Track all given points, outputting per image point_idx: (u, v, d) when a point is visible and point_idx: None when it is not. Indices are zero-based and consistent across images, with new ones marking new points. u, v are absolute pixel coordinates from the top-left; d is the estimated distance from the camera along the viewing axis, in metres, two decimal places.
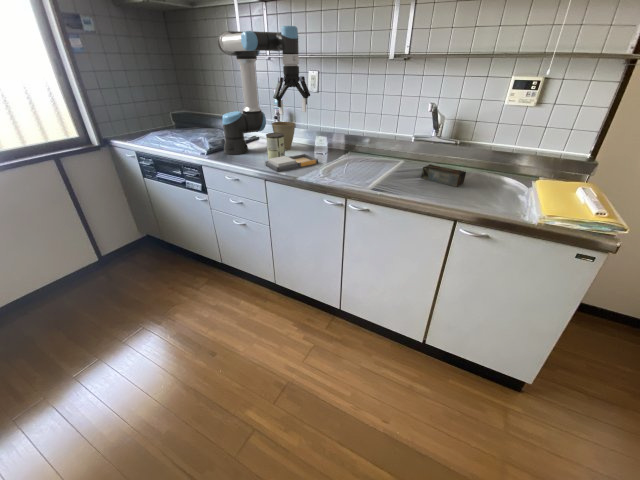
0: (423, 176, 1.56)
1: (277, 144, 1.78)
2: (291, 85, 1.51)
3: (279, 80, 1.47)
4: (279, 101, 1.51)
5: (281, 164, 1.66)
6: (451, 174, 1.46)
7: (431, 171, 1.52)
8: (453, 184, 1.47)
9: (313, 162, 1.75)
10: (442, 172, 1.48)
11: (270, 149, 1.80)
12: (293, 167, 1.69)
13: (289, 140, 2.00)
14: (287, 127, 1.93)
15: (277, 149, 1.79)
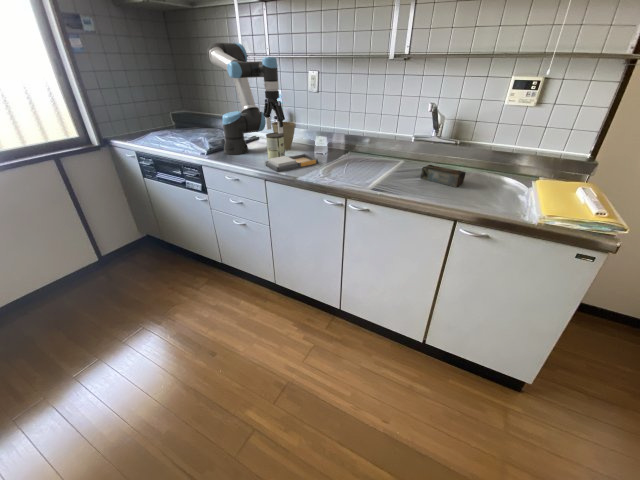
0: (422, 176, 1.55)
1: (277, 144, 1.78)
2: (270, 107, 1.72)
3: None
4: (266, 118, 1.80)
5: (281, 164, 1.66)
6: (451, 174, 1.45)
7: (430, 171, 1.52)
8: (453, 184, 1.46)
9: (313, 162, 1.75)
10: (442, 172, 1.48)
11: (270, 149, 1.80)
12: (293, 167, 1.69)
13: (289, 140, 2.00)
14: (287, 127, 1.93)
15: (277, 149, 1.79)
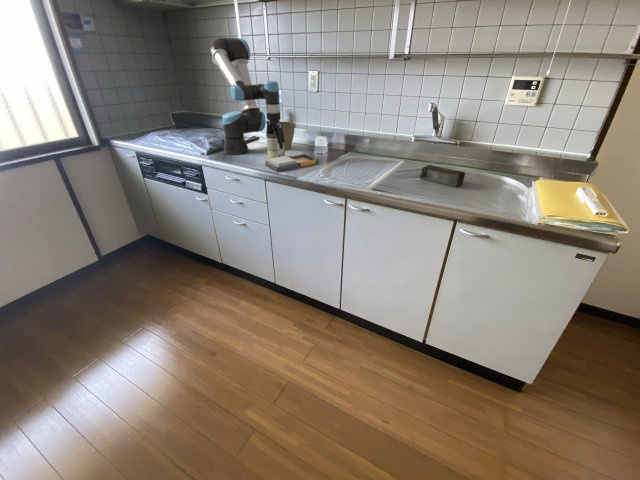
0: (422, 177, 1.55)
1: (277, 144, 1.78)
2: (272, 128, 1.78)
3: None
4: None
5: (281, 164, 1.66)
6: (450, 175, 1.45)
7: (430, 171, 1.51)
8: (452, 185, 1.46)
9: (313, 162, 1.75)
10: (441, 173, 1.48)
11: (270, 149, 1.80)
12: (293, 167, 1.69)
13: (289, 140, 2.00)
14: (287, 127, 1.93)
15: (277, 149, 1.79)
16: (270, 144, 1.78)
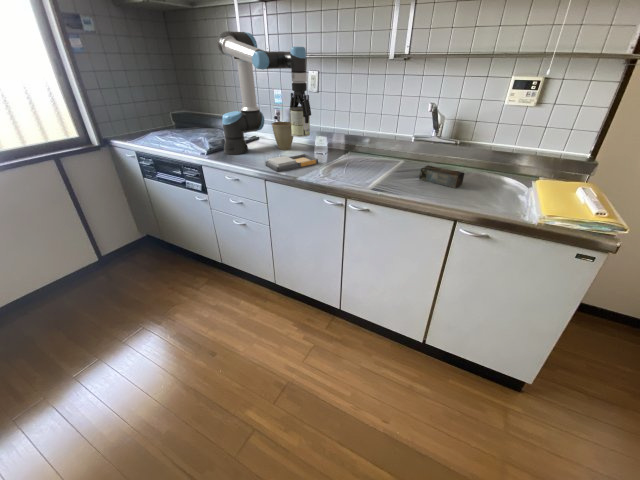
0: (421, 177, 1.54)
1: (302, 118, 1.63)
2: (297, 100, 1.63)
3: None
4: None
5: (281, 164, 1.66)
6: (450, 175, 1.44)
7: (429, 172, 1.51)
8: (452, 185, 1.45)
9: (313, 162, 1.75)
10: (440, 173, 1.47)
11: (295, 123, 1.64)
12: (293, 167, 1.69)
13: (289, 140, 2.00)
14: (287, 127, 1.93)
15: (302, 123, 1.64)
16: (295, 118, 1.63)
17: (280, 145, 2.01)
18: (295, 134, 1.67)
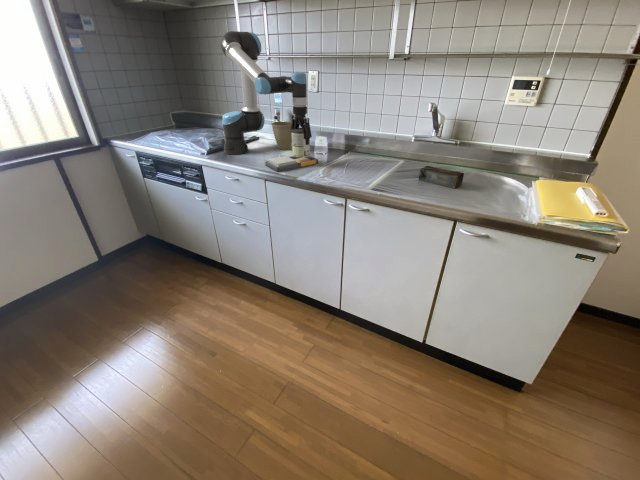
0: (421, 178, 1.54)
1: (303, 140, 1.68)
2: (297, 122, 1.68)
3: None
4: None
5: (281, 164, 1.66)
6: (449, 176, 1.44)
7: (428, 172, 1.50)
8: (451, 186, 1.45)
9: (313, 162, 1.75)
10: (440, 174, 1.46)
11: (295, 145, 1.70)
12: (293, 167, 1.69)
13: (289, 140, 2.00)
14: (287, 127, 1.93)
15: (303, 145, 1.70)
16: (296, 140, 1.69)
17: (280, 145, 2.01)
18: (296, 155, 1.73)
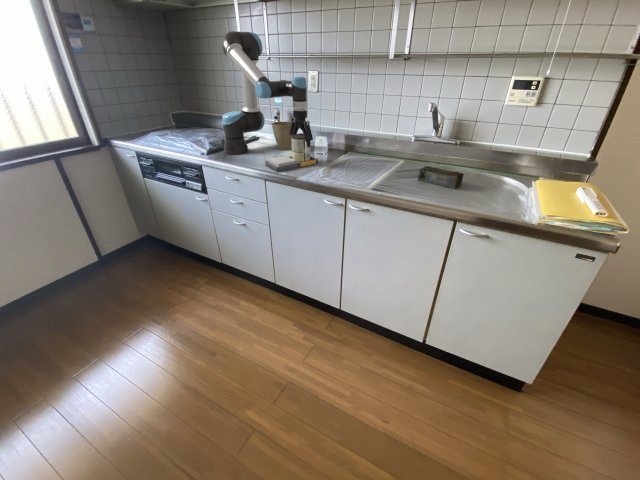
0: (420, 178, 1.53)
1: (303, 146, 1.70)
2: (298, 126, 1.69)
3: None
4: None
5: (281, 164, 1.66)
6: (449, 176, 1.43)
7: (428, 172, 1.50)
8: (451, 186, 1.44)
9: (313, 162, 1.75)
10: (440, 174, 1.46)
11: (295, 151, 1.72)
12: (293, 167, 1.69)
13: (289, 140, 2.00)
14: (287, 127, 1.93)
15: (302, 151, 1.71)
16: (296, 145, 1.70)
17: (280, 145, 2.01)
18: (296, 160, 1.75)
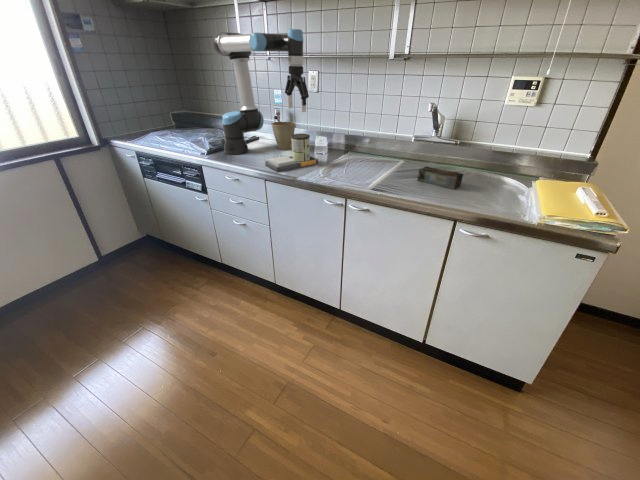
0: (419, 178, 1.53)
1: (303, 146, 1.70)
2: (293, 84, 1.63)
3: None
4: None
5: (281, 164, 1.66)
6: (448, 176, 1.43)
7: (427, 173, 1.49)
8: (450, 186, 1.44)
9: (313, 162, 1.75)
10: (439, 174, 1.45)
11: (295, 151, 1.72)
12: (293, 167, 1.69)
13: (289, 140, 2.00)
14: (287, 127, 1.93)
15: (302, 151, 1.71)
16: (295, 145, 1.70)
17: (280, 145, 2.01)
18: (296, 160, 1.75)
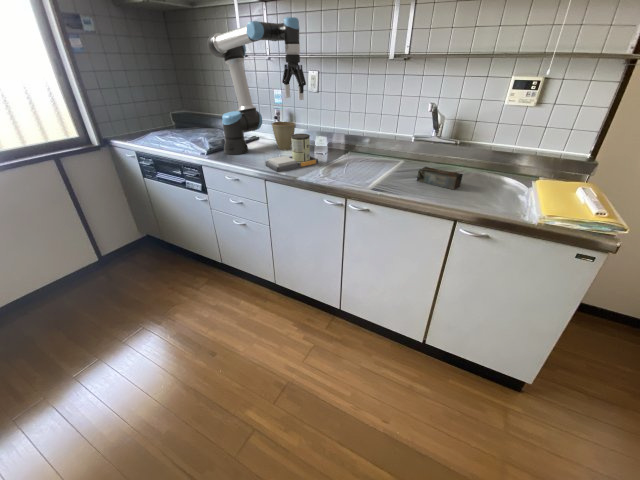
0: (419, 179, 1.52)
1: (303, 146, 1.70)
2: (290, 72, 1.66)
3: None
4: (285, 85, 1.74)
5: (281, 164, 1.66)
6: (448, 177, 1.43)
7: (427, 173, 1.49)
8: (450, 187, 1.44)
9: (313, 162, 1.75)
10: (439, 175, 1.45)
11: (295, 151, 1.72)
12: (293, 167, 1.69)
13: (289, 140, 2.00)
14: (287, 127, 1.93)
15: (302, 151, 1.71)
16: (295, 145, 1.70)
17: (280, 145, 2.01)
18: (296, 160, 1.75)
